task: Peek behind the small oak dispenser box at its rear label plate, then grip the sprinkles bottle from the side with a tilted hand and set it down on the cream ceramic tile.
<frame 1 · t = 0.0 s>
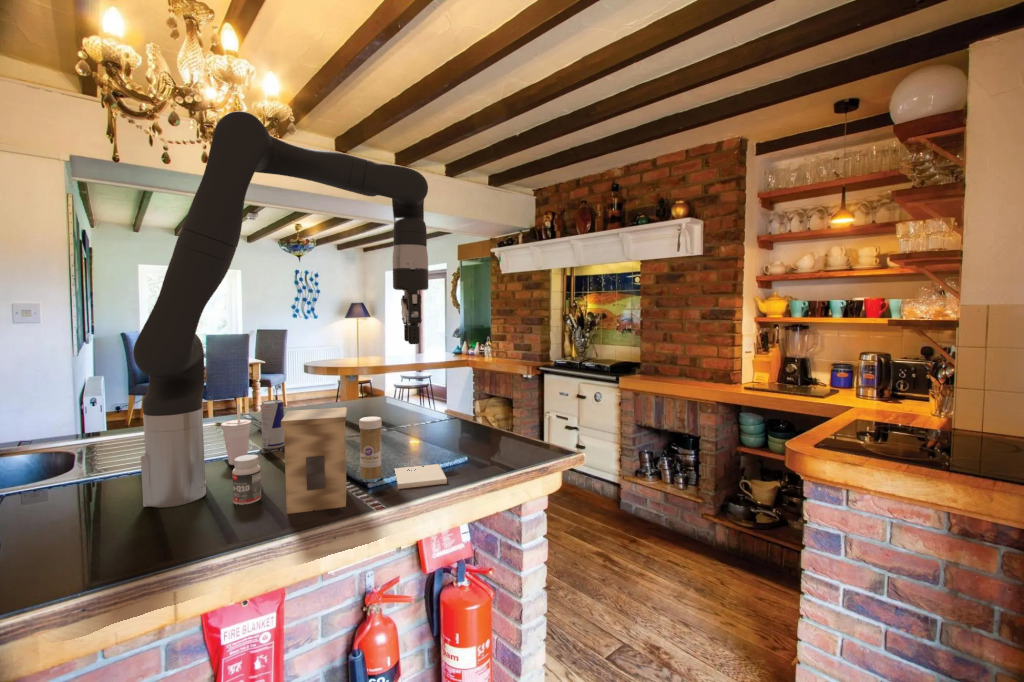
hand: (411, 342, 105), 29 cm above the counter, tool pointing down, fingers open, 8 cm apart
pill bottle: (247, 501, 92), on the counter
tile: (419, 477, 104), on the counter
smoothie: (237, 463, 115), on the counter
dispenser box: (318, 501, 91), on the counter
sprinkles bottle: (371, 480, 103), on the counter
energy drink: (273, 447, 128), on the counter
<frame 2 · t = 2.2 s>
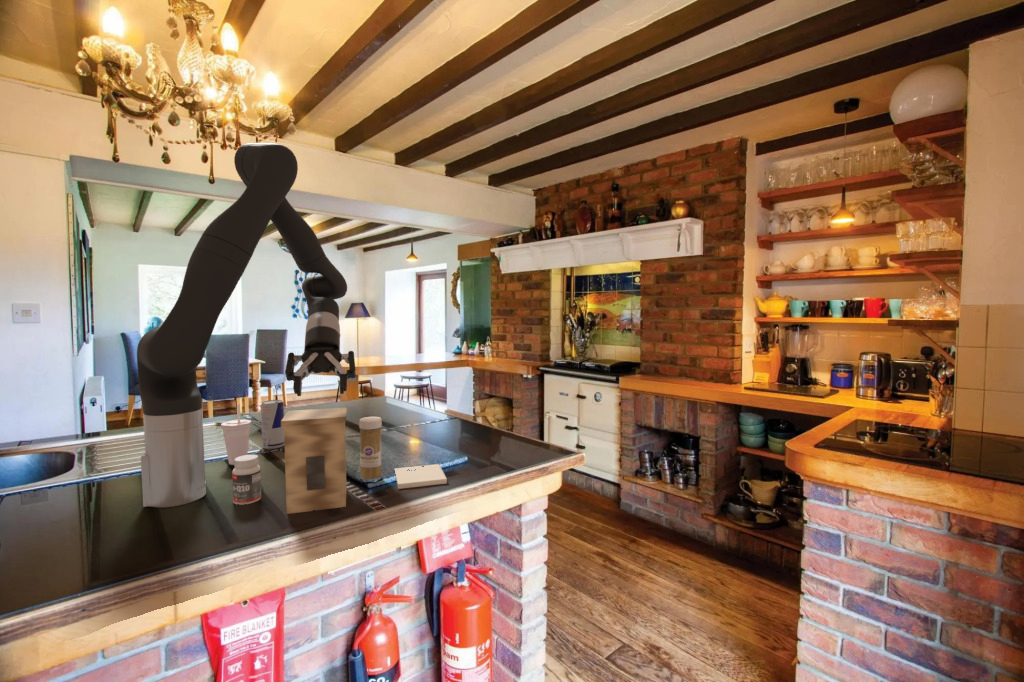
hand: (320, 392, 102), 19 cm above the counter, tool tilted 45°, fingers open, 8 cm apart
nothing on the counter moved.
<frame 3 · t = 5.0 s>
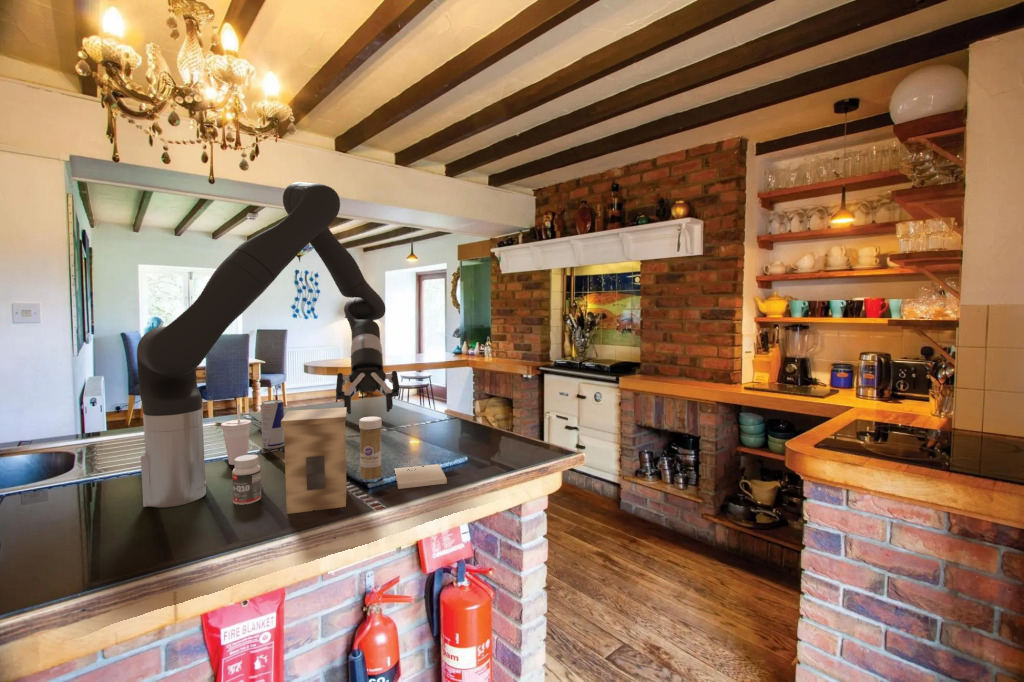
hand: (369, 411, 110), 13 cm above the counter, tool tilted 45°, fingers open, 8 cm apart
nothing on the counter moved.
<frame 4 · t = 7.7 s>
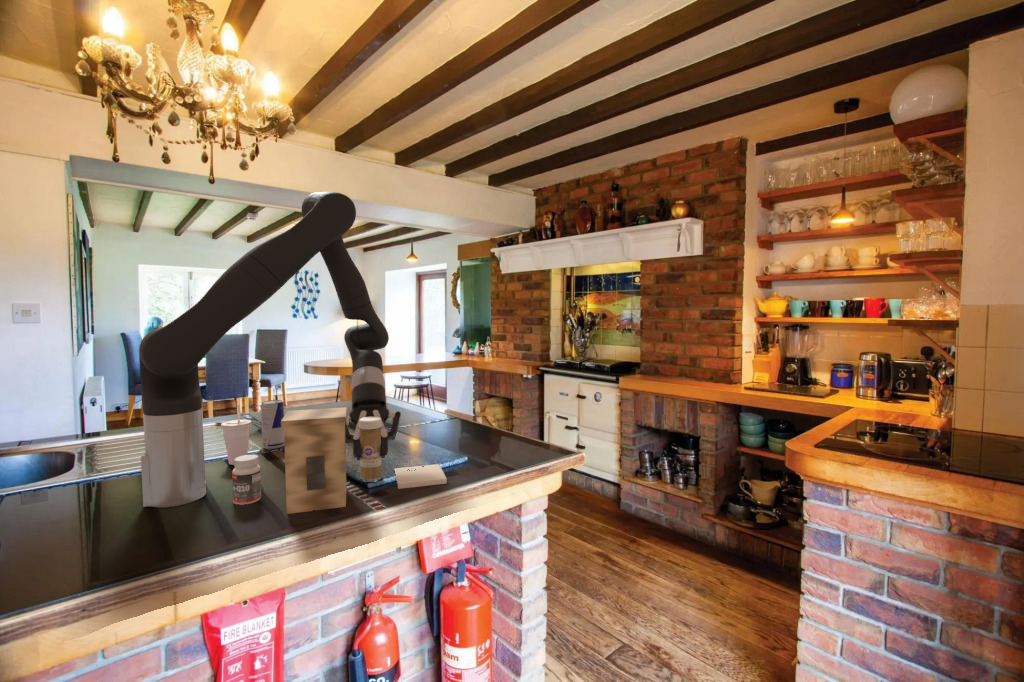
hand: (371, 456, 101), 6 cm above the counter, tool tilted 45°, fingers closed on sprinkles bottle, 4 cm apart
sprinkles bottle: (371, 480, 103), on the counter, touching gripper
everything else where it was.
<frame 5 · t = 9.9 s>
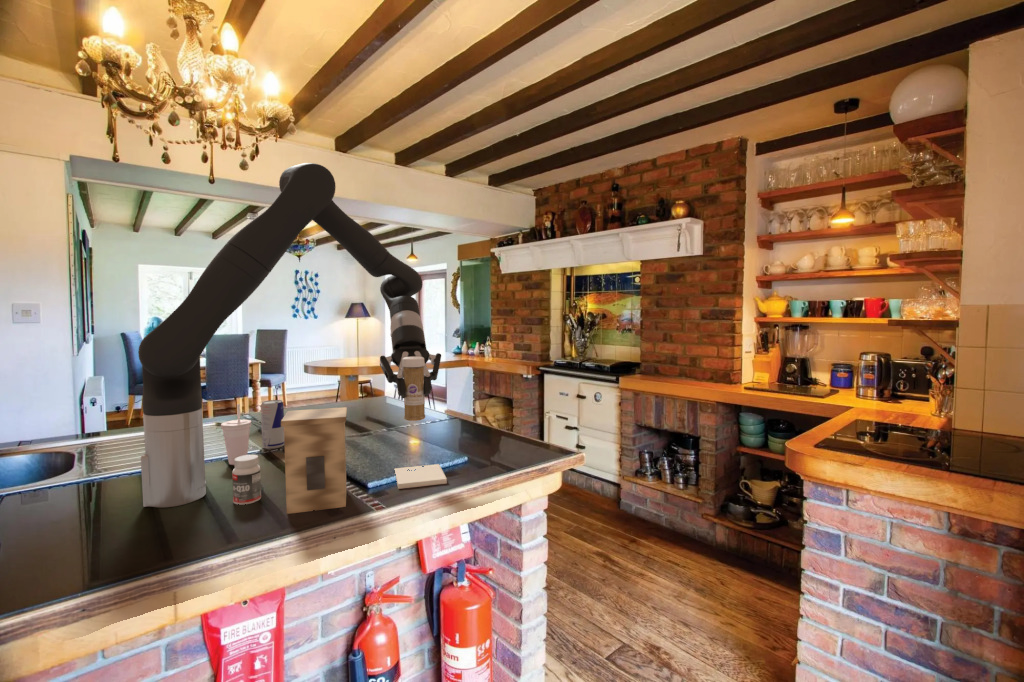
hand: (415, 394, 102), 18 cm above the counter, tool tilted 45°, fingers closed on sprinkles bottle, 4 cm apart
sprinkles bottle: (415, 419, 104), point 13 cm above the counter, touching gripper
everything else where it was.
when the fingers open (7 cm above the counter, at t = 12.4 s): sprinkles bottle stays where it is, resting on tile.
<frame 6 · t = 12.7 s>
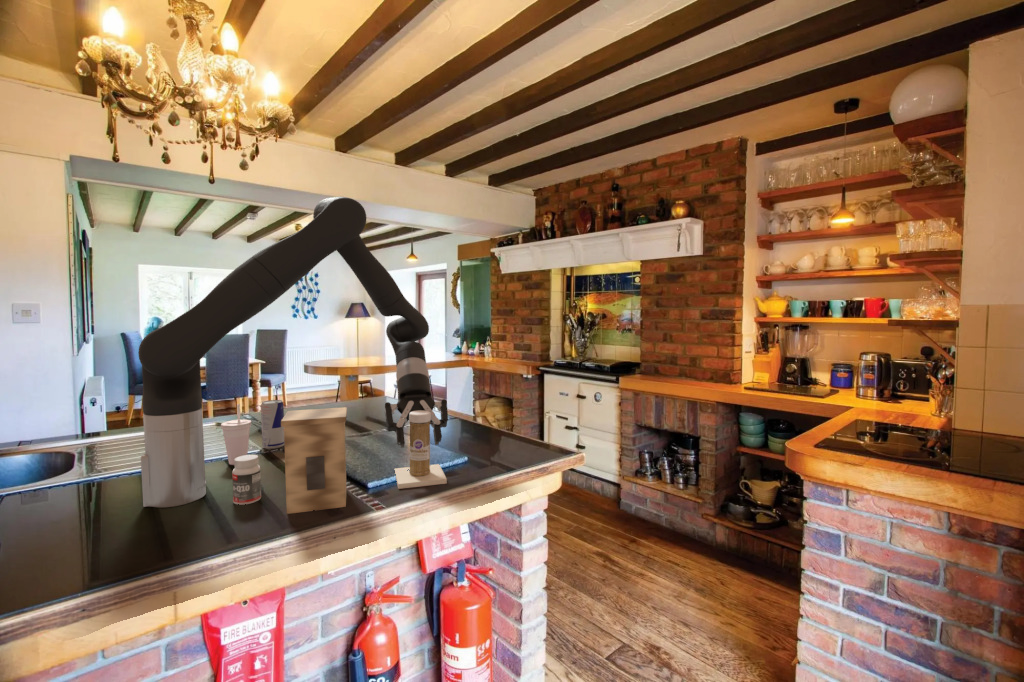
hand: (420, 444, 102), 8 cm above the counter, tool tilted 45°, fingers open, 6 cm apart
sprinkles bottle: (420, 473, 104), point 1 cm above the counter, touching tile
everything else where it was.
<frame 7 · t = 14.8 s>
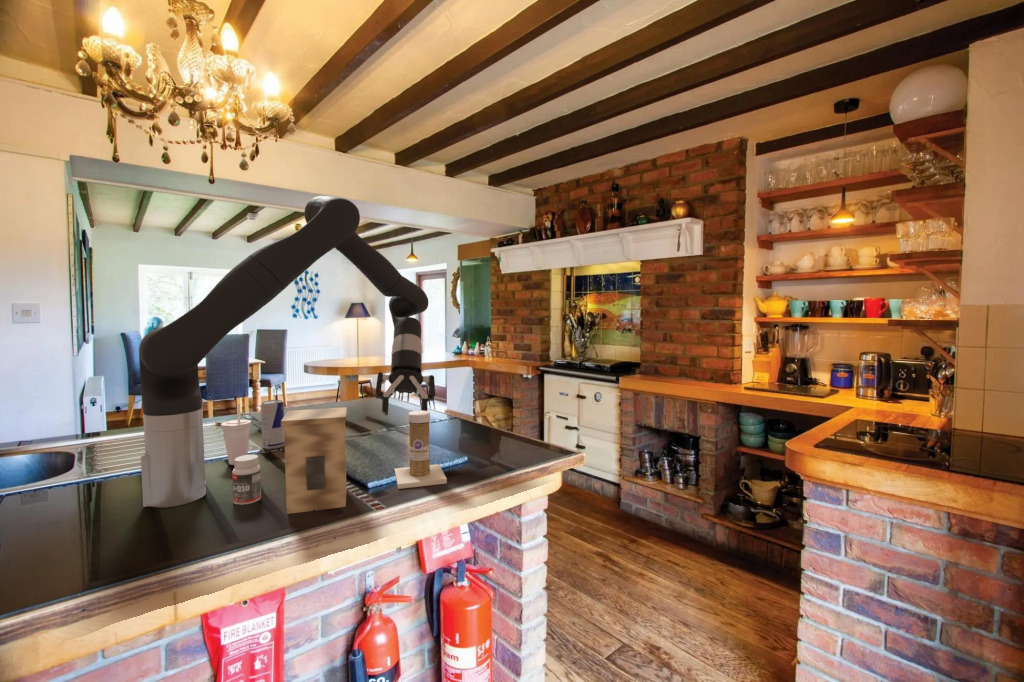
hand: (404, 414, 115), 11 cm above the counter, tool tilted 35°, fingers open, 8 cm apart
nothing on the counter moved.
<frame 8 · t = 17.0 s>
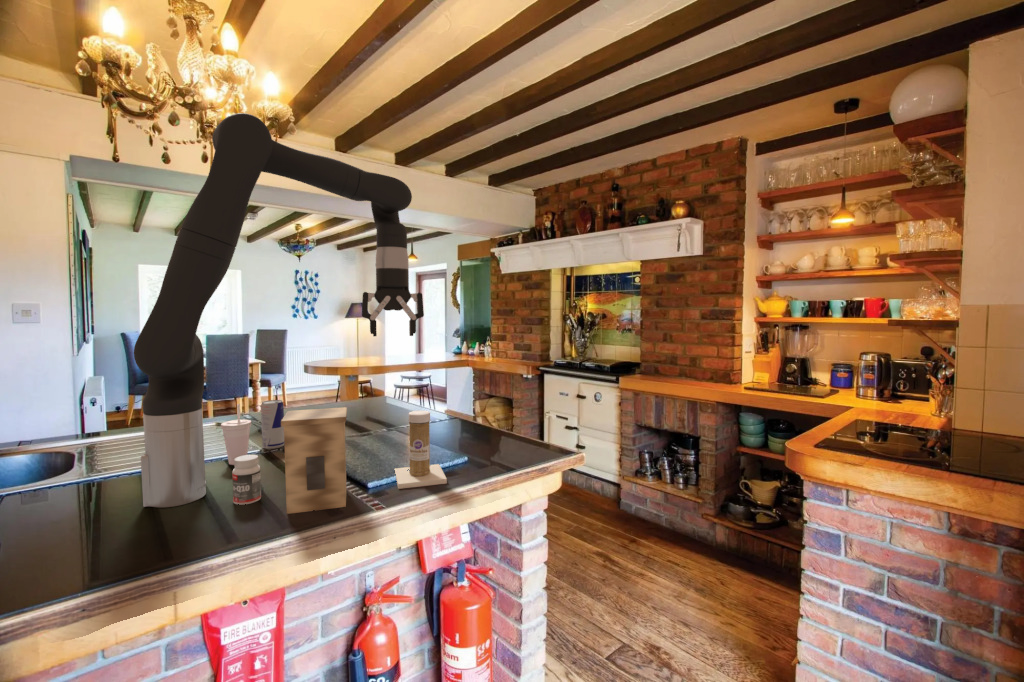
hand: (393, 335, 115), 30 cm above the counter, tool pointing down, fingers open, 8 cm apart
nothing on the counter moved.
at the end: sprinkles bottle inside the target area on the tile (0.2 cm from its centre), point 0.8 cm above the tile's base; sprinkles bottle tilted 0°; the gripper is holding nothing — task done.
